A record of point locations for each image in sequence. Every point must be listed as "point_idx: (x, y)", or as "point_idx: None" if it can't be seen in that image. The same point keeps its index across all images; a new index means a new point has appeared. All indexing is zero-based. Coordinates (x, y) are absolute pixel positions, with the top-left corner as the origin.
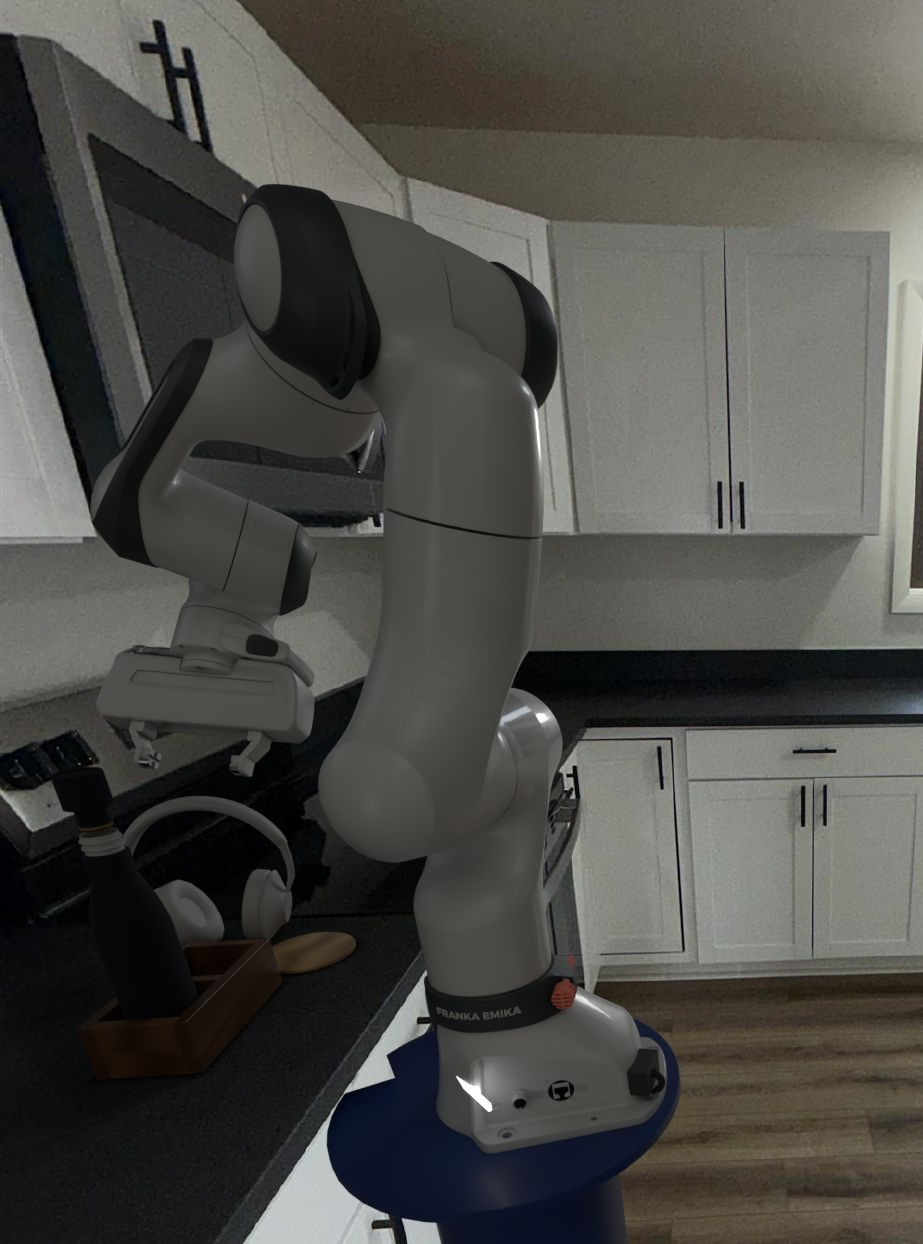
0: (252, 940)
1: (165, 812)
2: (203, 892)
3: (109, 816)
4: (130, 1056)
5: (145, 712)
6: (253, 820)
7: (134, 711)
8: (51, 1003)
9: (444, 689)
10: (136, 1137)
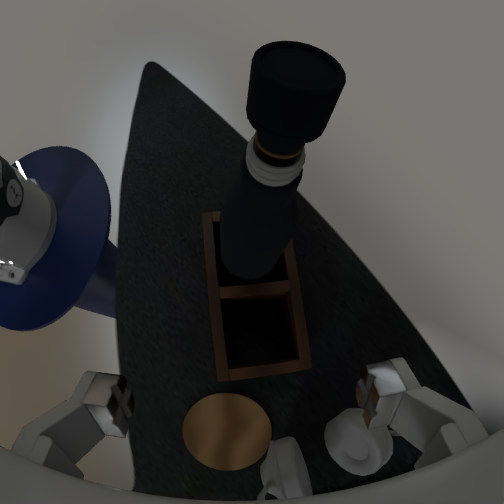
0: (234, 376)
1: None
2: (361, 474)
3: (260, 135)
4: None
5: (467, 467)
6: None
7: (499, 449)
8: (394, 330)
9: None
10: (207, 169)
